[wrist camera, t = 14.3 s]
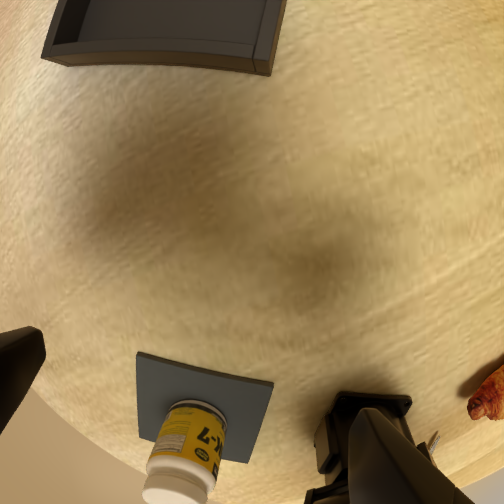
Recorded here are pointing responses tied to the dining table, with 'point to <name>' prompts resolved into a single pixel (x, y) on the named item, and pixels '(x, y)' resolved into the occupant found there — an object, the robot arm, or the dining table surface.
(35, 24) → the dining table surface
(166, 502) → the supplement bottle
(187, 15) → the tray
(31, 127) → the dining table surface
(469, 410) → the croissant
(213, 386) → the mat
